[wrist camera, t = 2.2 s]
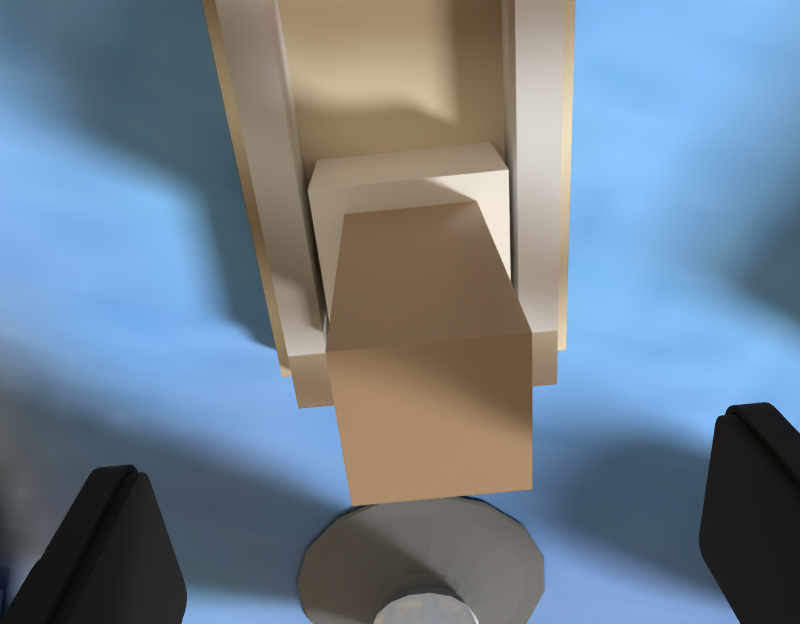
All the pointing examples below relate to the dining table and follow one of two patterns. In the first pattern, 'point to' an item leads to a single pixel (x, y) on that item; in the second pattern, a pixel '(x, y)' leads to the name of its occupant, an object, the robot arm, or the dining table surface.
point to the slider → (424, 323)
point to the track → (396, 135)
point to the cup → (422, 566)
